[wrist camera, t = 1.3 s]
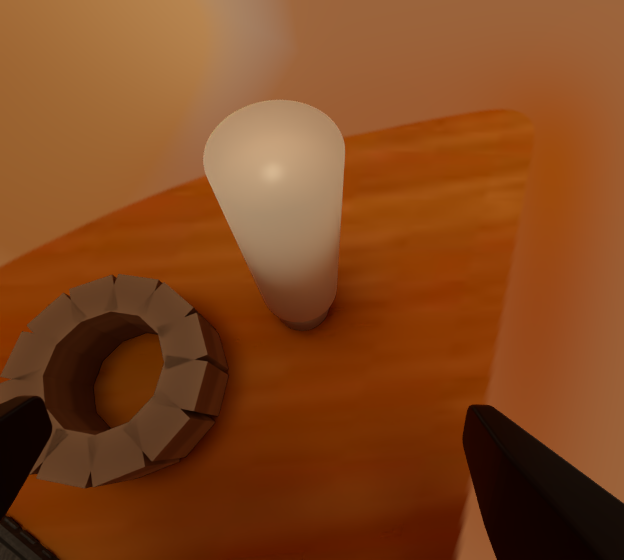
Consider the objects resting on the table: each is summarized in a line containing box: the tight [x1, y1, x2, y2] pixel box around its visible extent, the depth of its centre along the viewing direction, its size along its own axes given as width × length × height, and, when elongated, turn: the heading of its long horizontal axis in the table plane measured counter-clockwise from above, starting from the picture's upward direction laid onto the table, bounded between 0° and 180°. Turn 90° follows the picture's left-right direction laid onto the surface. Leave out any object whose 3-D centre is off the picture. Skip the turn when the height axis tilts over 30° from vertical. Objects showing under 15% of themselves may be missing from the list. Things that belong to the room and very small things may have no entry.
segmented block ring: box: [0, 274, 229, 488], centre depth 19 cm, size 10×10×4 cm
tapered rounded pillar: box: [203, 100, 345, 331], centre depth 16 cm, size 4×4×13 cm
